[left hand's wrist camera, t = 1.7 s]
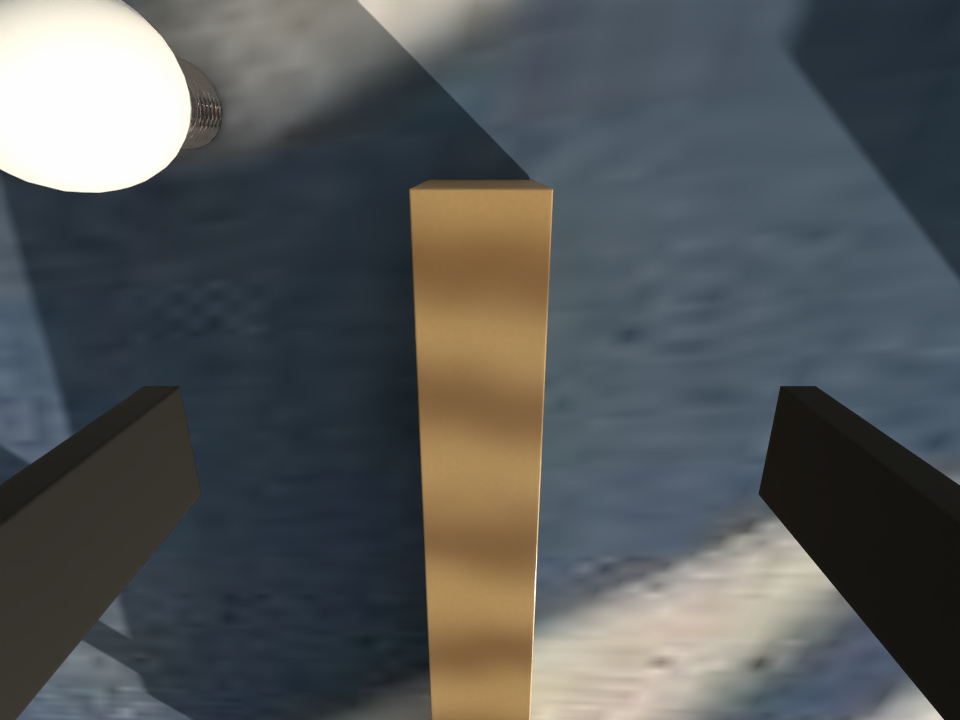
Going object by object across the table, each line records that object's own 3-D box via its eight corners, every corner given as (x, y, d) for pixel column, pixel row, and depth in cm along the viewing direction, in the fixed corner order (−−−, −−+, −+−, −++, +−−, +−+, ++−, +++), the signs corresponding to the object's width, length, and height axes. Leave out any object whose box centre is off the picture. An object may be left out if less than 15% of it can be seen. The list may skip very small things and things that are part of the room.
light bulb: (273, 77, 25) (125, 22, 14) (215, 211, 27) (49, 246, 16) (126, -15, 23) (-152, -149, 13) (77, 132, 25) (-197, 116, 15)
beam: (427, 179, 26) (408, 188, 19) (533, 179, 26) (553, 188, 19) (449, 868, 45) (443, 1004, 37) (511, 868, 45) (517, 1004, 37)
